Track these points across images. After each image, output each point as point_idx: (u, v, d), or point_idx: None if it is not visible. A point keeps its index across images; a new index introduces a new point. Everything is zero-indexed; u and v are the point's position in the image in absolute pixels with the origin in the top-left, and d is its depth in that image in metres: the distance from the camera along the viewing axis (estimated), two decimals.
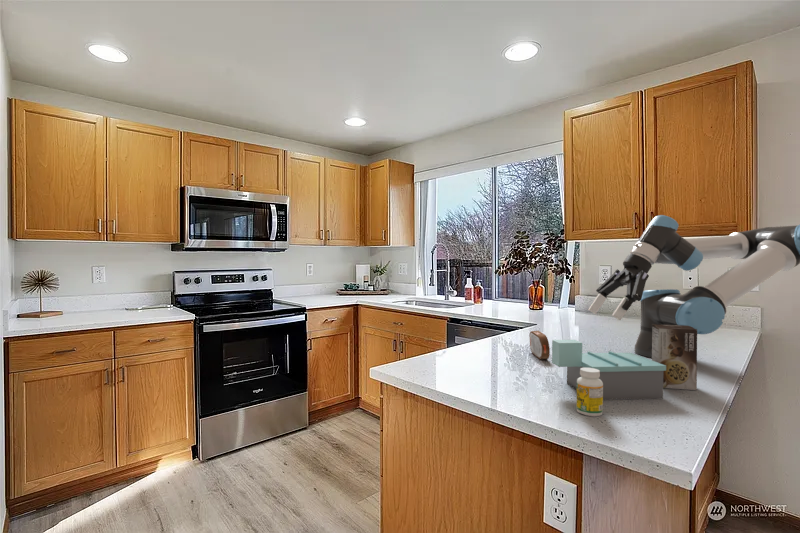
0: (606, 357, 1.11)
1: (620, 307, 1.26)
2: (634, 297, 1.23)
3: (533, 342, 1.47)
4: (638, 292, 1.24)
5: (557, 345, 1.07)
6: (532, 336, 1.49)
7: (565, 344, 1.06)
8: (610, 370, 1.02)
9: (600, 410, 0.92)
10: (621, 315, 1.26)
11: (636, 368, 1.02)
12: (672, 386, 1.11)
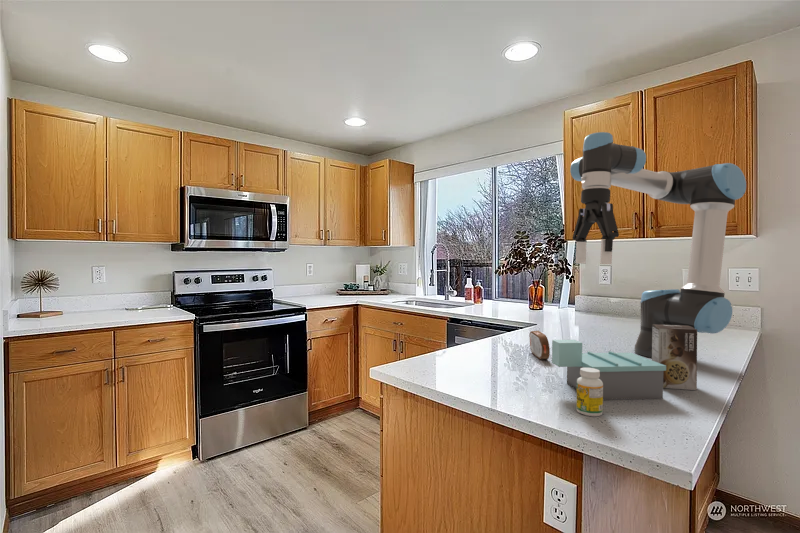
0: (606, 357, 1.11)
1: (604, 252, 1.13)
2: (611, 236, 1.10)
3: (533, 342, 1.47)
4: (612, 228, 1.11)
5: (557, 345, 1.07)
6: (532, 336, 1.49)
7: (565, 344, 1.06)
8: (610, 370, 1.02)
9: (600, 410, 0.92)
10: (609, 258, 1.13)
11: (636, 368, 1.02)
12: (672, 386, 1.11)
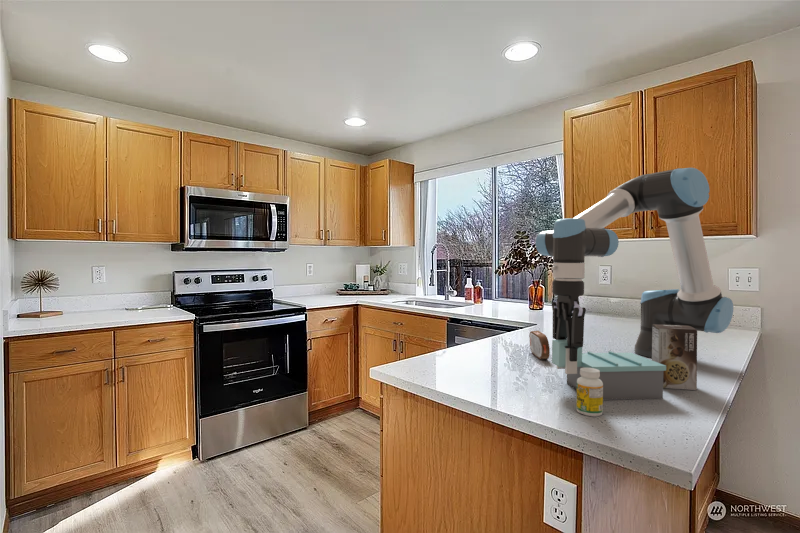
0: (606, 357, 1.11)
1: (568, 361, 1.05)
2: (574, 346, 1.03)
3: (533, 342, 1.47)
4: (577, 339, 1.02)
5: (557, 345, 1.07)
6: (532, 336, 1.49)
7: (565, 344, 1.06)
8: (610, 370, 1.02)
9: (600, 410, 0.92)
10: (574, 368, 1.05)
11: (636, 368, 1.02)
12: (672, 386, 1.11)
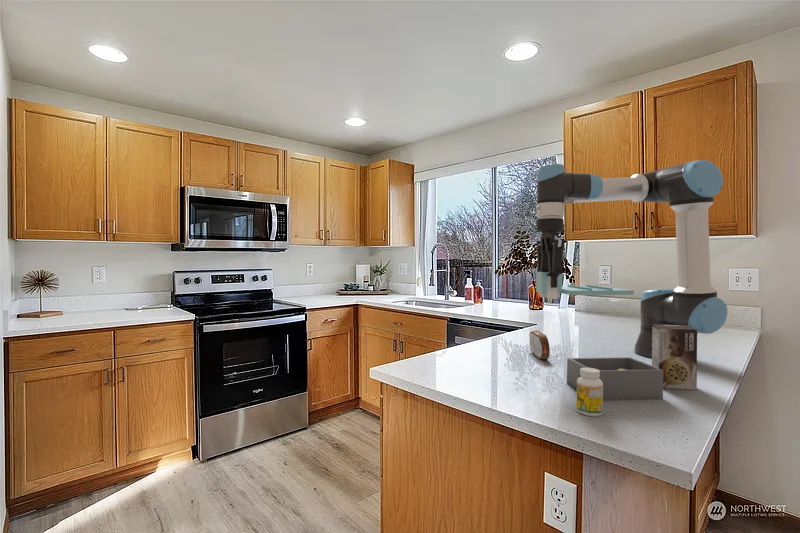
0: None
1: (550, 287, 1.21)
2: (554, 274, 1.19)
3: (533, 342, 1.47)
4: (557, 267, 1.18)
5: (540, 275, 1.23)
6: (532, 336, 1.49)
7: (547, 273, 1.22)
8: (585, 293, 1.18)
9: (600, 410, 0.92)
10: (555, 294, 1.21)
11: (607, 292, 1.18)
12: (672, 386, 1.11)
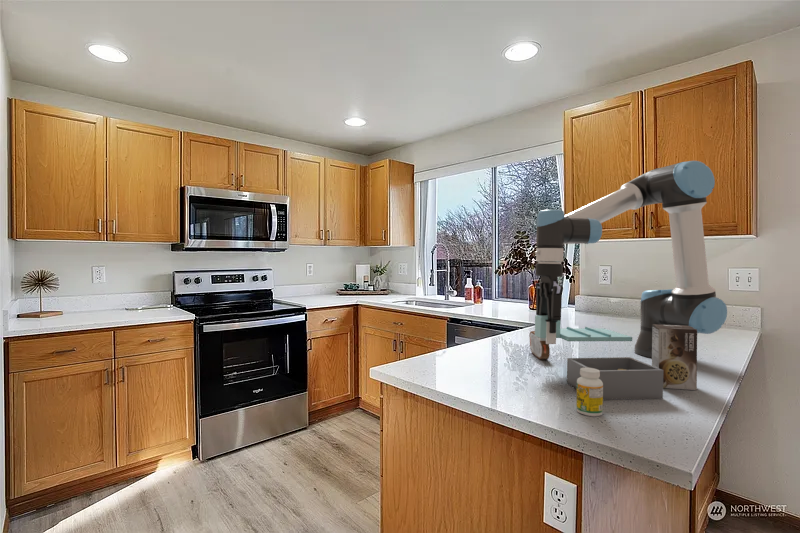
0: (582, 331, 1.27)
1: (548, 333, 1.22)
2: (553, 320, 1.19)
3: (533, 342, 1.47)
4: (556, 313, 1.18)
5: (538, 319, 1.23)
6: (532, 336, 1.49)
7: (546, 318, 1.22)
8: (583, 340, 1.18)
9: (600, 410, 0.92)
10: (554, 339, 1.22)
11: (606, 339, 1.19)
12: (672, 386, 1.11)
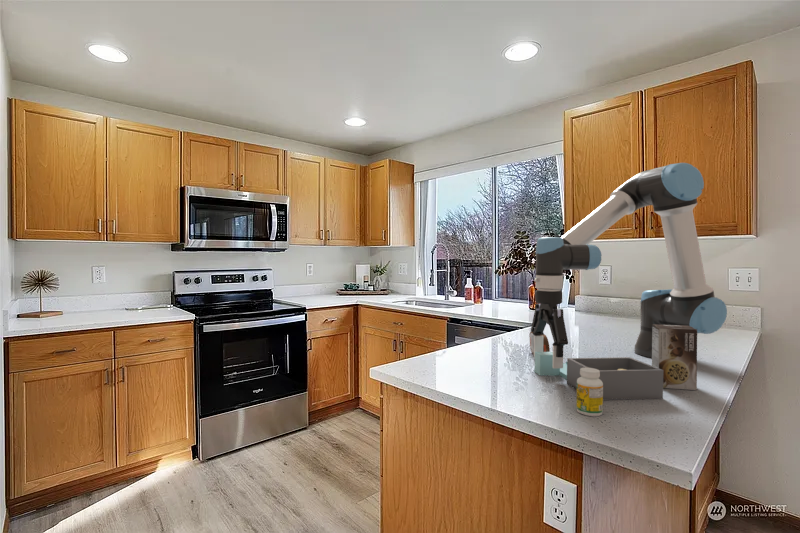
0: None
1: (555, 357, 1.18)
2: (561, 344, 1.15)
3: (533, 342, 1.47)
4: (561, 336, 1.15)
5: (538, 356, 1.24)
6: (532, 336, 1.49)
7: (545, 356, 1.22)
8: None
9: (600, 410, 0.92)
10: (561, 363, 1.18)
11: None
12: (672, 386, 1.11)
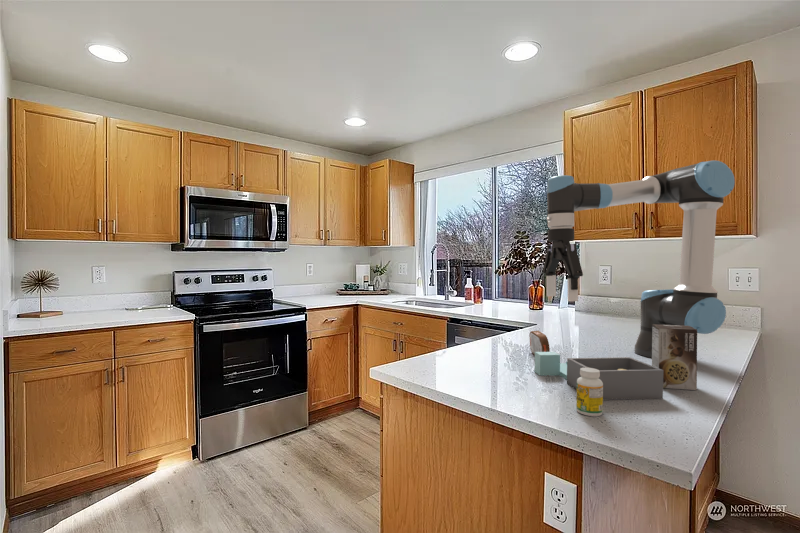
0: None
1: (570, 290, 1.20)
2: (576, 276, 1.18)
3: (533, 342, 1.47)
4: (576, 268, 1.18)
5: (538, 357, 1.24)
6: (532, 336, 1.49)
7: (545, 356, 1.22)
8: None
9: (600, 410, 0.92)
10: (576, 296, 1.21)
11: None
12: (672, 386, 1.11)
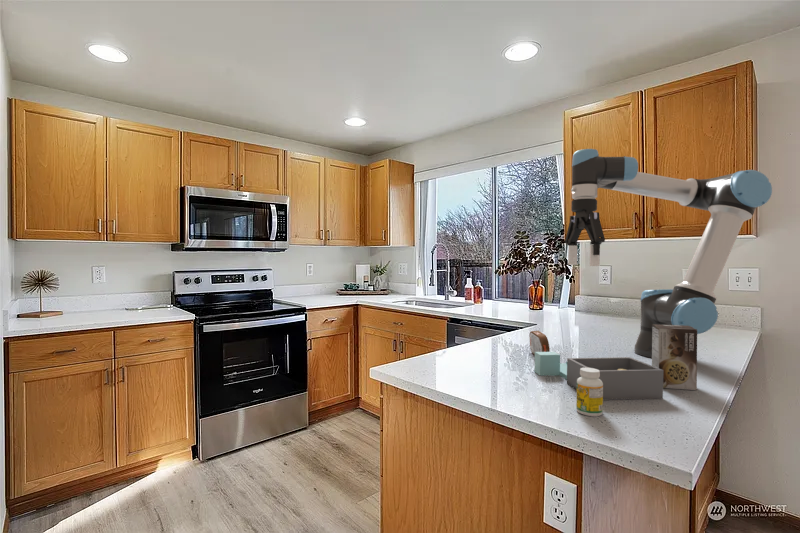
0: None
1: (592, 255, 1.28)
2: (598, 241, 1.26)
3: (533, 342, 1.47)
4: (599, 235, 1.26)
5: (538, 356, 1.24)
6: (532, 336, 1.49)
7: (545, 356, 1.22)
8: None
9: (600, 410, 0.92)
10: (597, 261, 1.29)
11: None
12: (672, 386, 1.11)
